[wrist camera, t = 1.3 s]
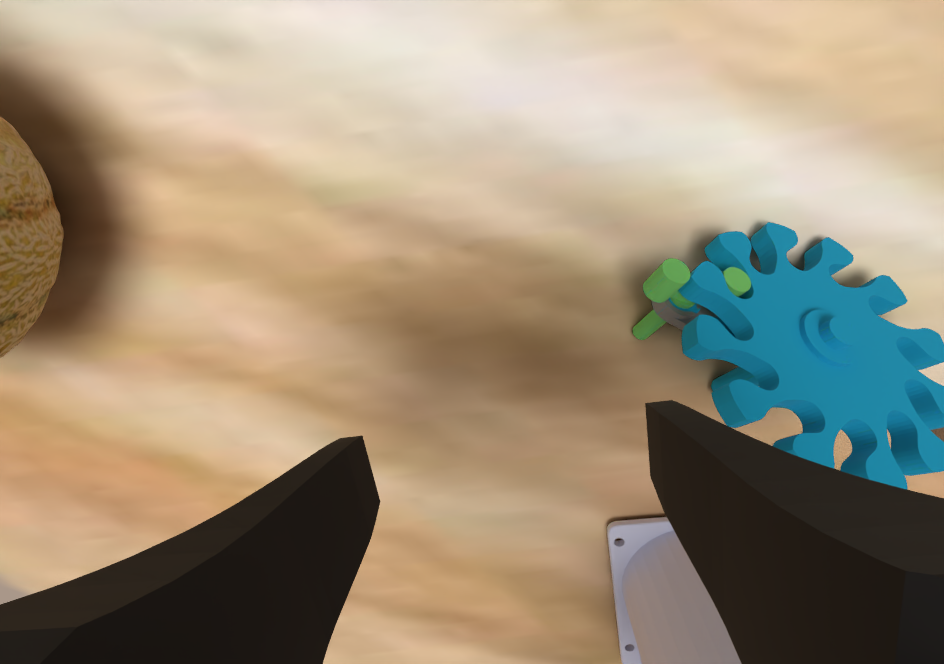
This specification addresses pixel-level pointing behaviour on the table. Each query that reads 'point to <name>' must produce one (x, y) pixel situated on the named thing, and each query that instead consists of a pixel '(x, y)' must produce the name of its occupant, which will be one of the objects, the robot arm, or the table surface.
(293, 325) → the table surface
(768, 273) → the gear
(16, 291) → the cantaloupe
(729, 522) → the robot arm
